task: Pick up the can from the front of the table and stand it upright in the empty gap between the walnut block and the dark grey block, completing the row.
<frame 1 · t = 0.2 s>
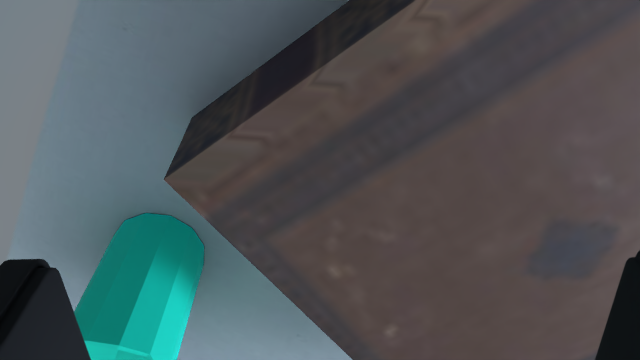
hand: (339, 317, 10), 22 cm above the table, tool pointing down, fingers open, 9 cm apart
book: (518, 138, 33), on the table
candle: (160, 248, 38), on the table
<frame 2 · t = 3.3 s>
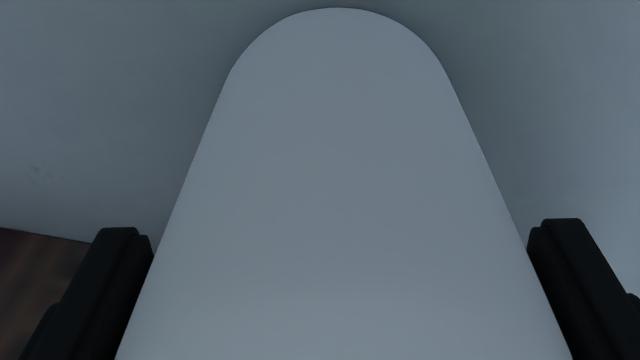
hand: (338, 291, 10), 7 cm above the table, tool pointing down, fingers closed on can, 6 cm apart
can: (336, 113, 17), on the table, touching gripper
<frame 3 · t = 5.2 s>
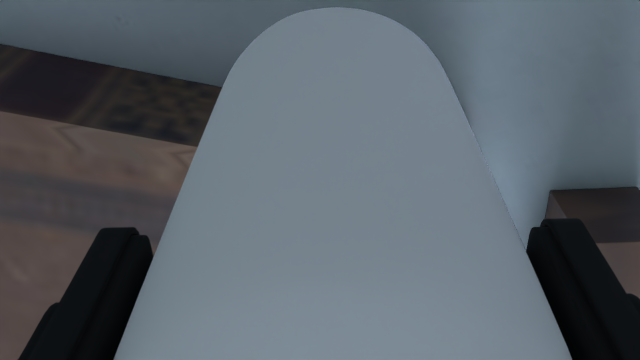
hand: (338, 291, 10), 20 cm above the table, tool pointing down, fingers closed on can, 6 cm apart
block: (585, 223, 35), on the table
book: (193, 262, 37), on the table
can: (336, 113, 17), point 13 cm above the table, touching gripper
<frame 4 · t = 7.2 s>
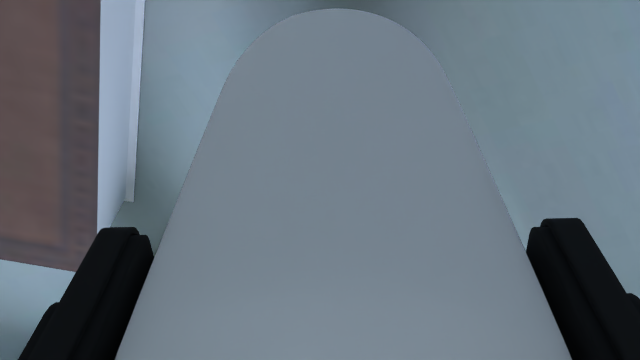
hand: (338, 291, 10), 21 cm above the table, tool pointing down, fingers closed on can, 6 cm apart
can: (336, 114, 17), point 14 cm above the table, touching gripper
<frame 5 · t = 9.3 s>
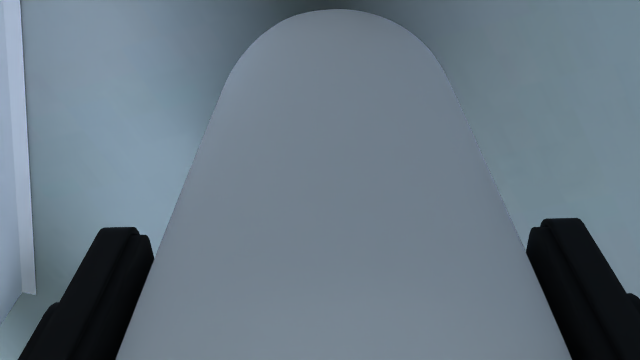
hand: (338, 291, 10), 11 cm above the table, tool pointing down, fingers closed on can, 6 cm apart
can: (336, 115, 17), point 4 cm above the table, touching gripper
when the fingers open (7 cm above the table, at t = 10.9 s): can stays where it is, on the table.
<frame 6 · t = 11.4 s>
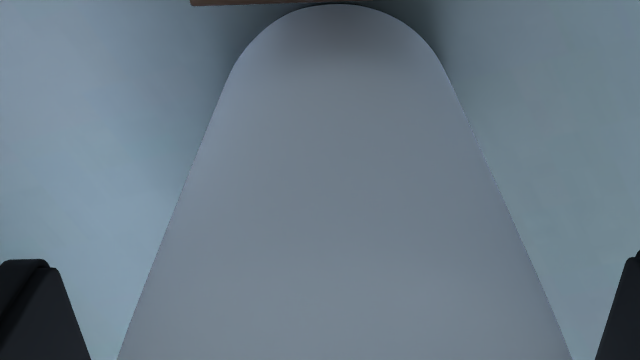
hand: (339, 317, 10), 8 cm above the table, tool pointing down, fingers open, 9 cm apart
can: (336, 108, 17), on the table
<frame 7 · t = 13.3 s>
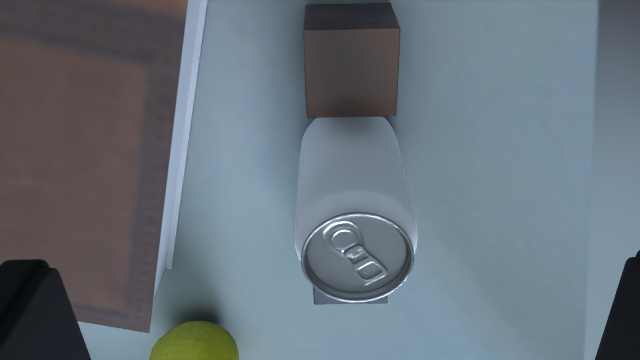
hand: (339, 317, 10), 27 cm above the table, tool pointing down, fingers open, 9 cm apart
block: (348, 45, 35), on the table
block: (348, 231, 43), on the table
can: (348, 145, 39), on the table
fruit: (203, 330, 48), on the table
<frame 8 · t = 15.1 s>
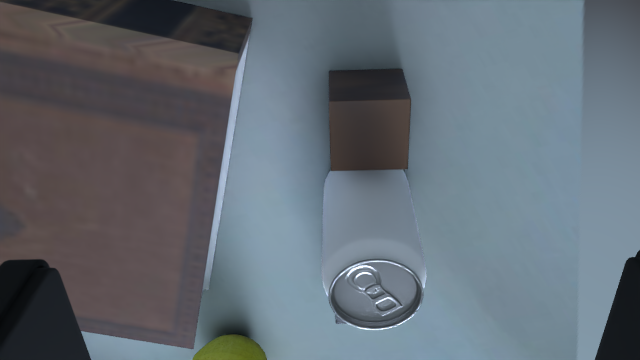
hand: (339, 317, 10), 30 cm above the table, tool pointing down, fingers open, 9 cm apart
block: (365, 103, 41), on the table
book: (39, 136, 43), on the table
can: (365, 185, 45), on the table
fruit: (235, 341, 54), on the table
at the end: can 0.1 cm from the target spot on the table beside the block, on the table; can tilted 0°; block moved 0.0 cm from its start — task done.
